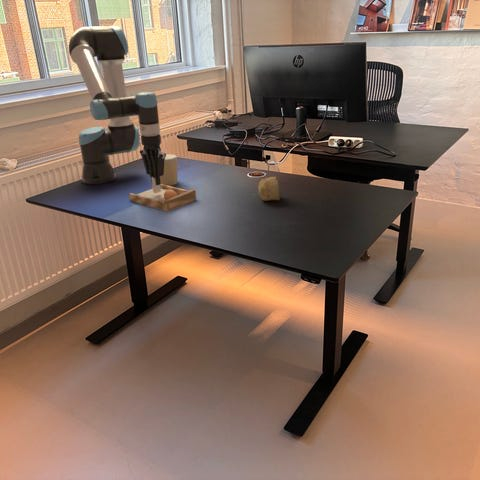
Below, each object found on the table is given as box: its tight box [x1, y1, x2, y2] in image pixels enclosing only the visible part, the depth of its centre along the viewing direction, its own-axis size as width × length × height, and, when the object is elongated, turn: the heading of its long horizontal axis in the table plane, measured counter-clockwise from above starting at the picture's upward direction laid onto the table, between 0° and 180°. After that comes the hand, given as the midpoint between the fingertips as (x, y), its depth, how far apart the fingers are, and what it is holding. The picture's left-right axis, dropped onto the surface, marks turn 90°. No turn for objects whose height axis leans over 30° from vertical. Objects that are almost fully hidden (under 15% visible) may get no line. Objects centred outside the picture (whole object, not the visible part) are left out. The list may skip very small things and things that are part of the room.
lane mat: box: [136, 188, 177, 202], centre depth 192 cm, size 20×14×2 cm
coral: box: [257, 176, 281, 202], centre depth 186 cm, size 10×10×10 cm
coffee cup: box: [160, 153, 178, 186], centre depth 209 cm, size 9×9×12 cm
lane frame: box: [128, 184, 197, 213], centre depth 191 cm, size 22×16×4 cm
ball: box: [164, 190, 176, 200], centre depth 187 cm, size 5×5×5 cm
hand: (157, 191), depth 192 cm, fingers closed
